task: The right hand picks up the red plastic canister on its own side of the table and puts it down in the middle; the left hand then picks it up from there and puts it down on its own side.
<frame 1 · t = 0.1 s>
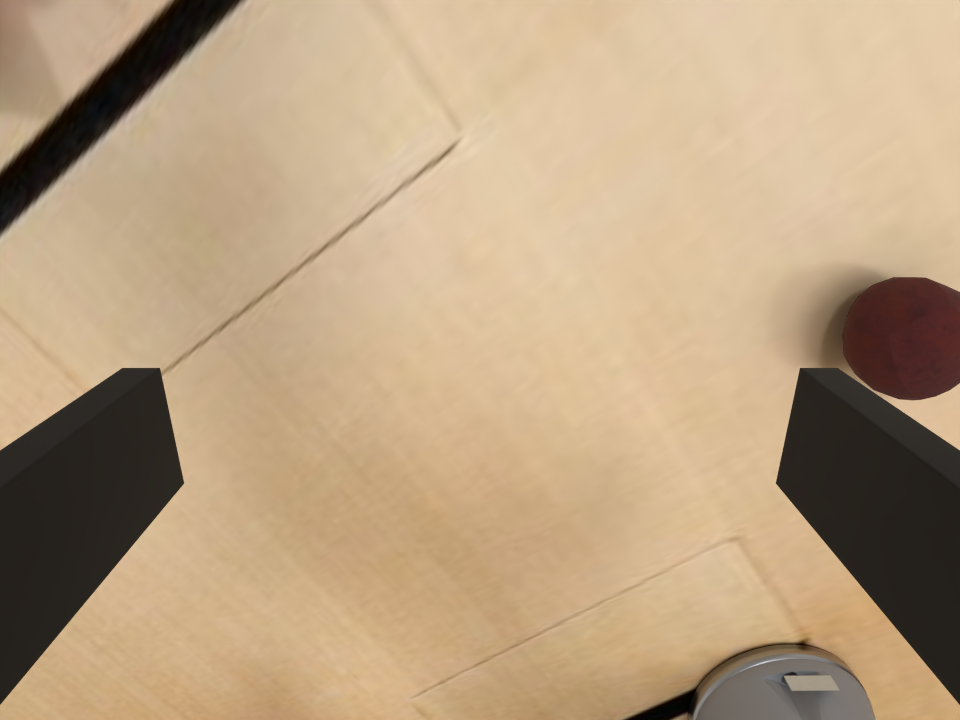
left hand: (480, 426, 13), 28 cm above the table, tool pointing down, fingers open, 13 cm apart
dark maroon round ball: (872, 319, 41), on the table
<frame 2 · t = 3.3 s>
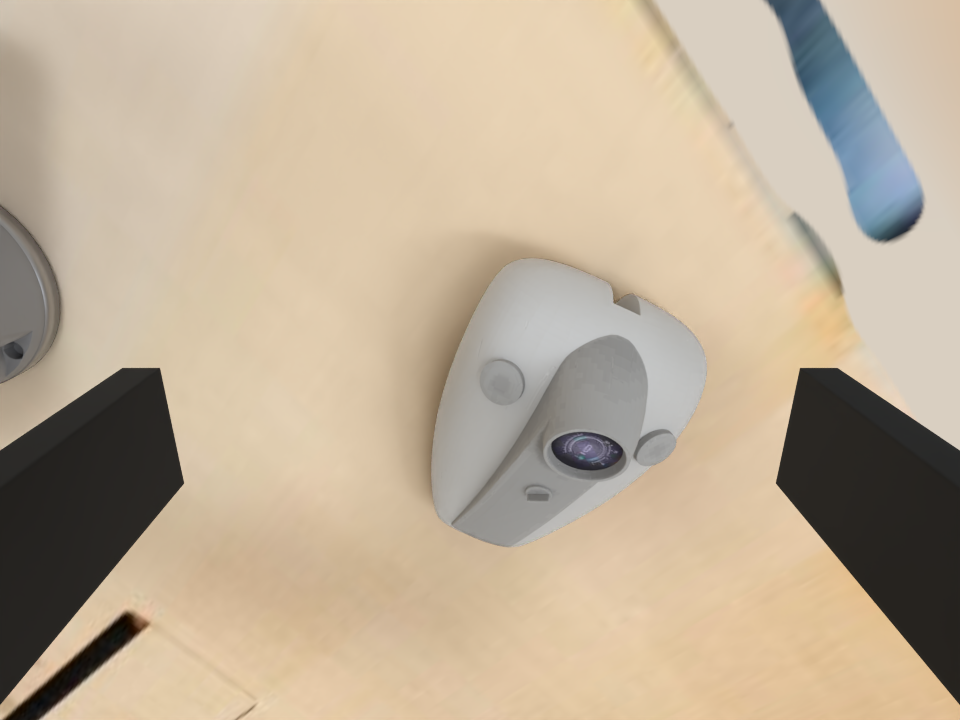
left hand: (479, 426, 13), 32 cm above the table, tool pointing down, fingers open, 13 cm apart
projector: (538, 405, 47), on the table
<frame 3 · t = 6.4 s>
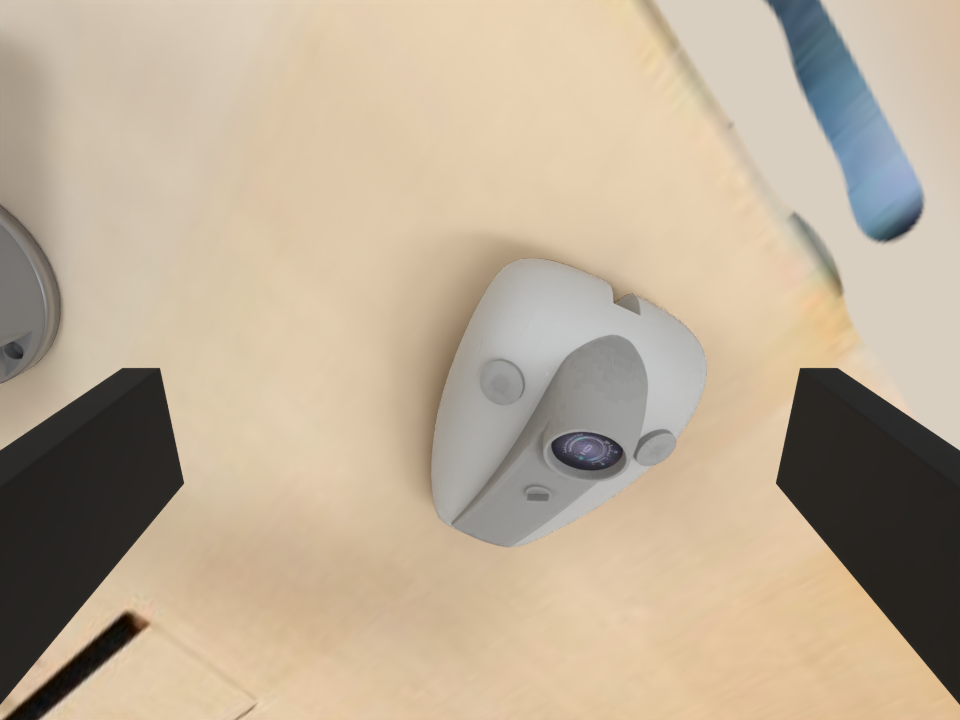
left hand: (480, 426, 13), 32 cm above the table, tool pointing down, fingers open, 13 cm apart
projector: (538, 405, 47), on the table
when the right hand's fingers open (3 cm above the table, at t = 9.7 s): canister drops 1 cm, on the table.
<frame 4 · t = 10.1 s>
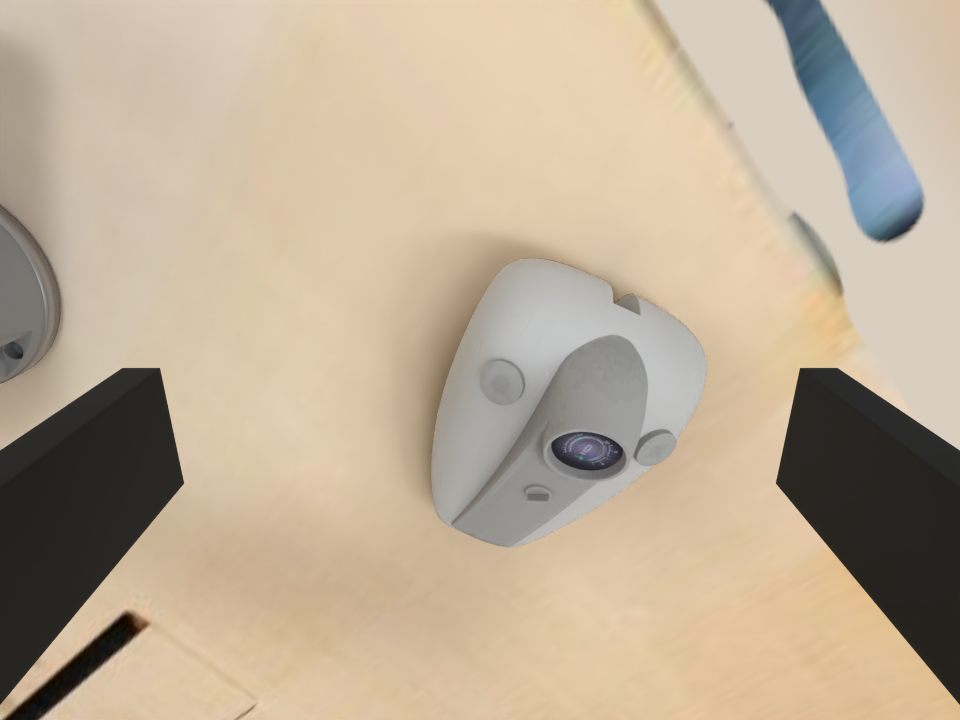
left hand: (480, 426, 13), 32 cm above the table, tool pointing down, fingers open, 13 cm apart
projector: (538, 405, 47), on the table
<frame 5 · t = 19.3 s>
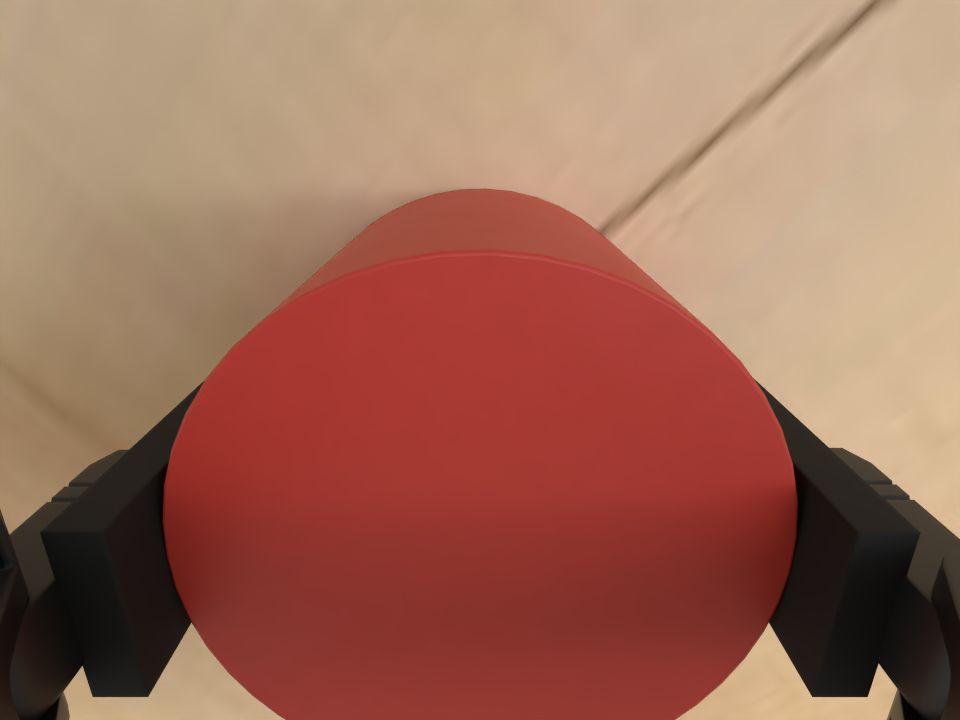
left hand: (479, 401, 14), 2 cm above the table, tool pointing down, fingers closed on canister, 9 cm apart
canister: (480, 368, 16), on the table, touching left hand
when the left hand's fingers open (3 cm above the table, at t = 25.7 s): canister drops 1 cm, on the table.
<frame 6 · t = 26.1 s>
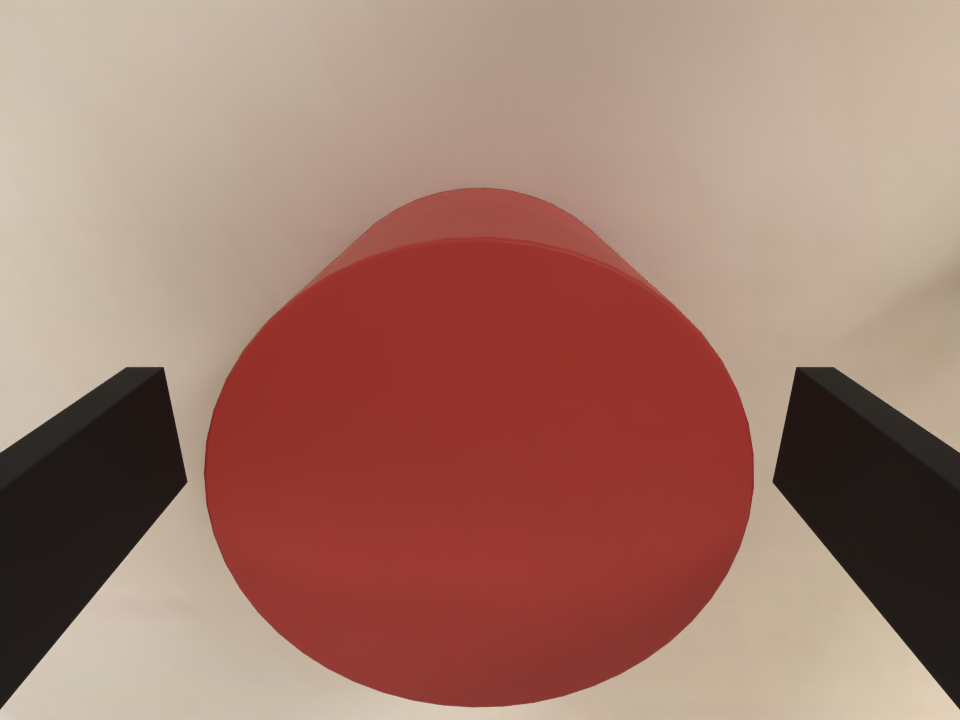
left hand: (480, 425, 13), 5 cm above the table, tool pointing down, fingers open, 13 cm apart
canister: (479, 353, 17), on the table
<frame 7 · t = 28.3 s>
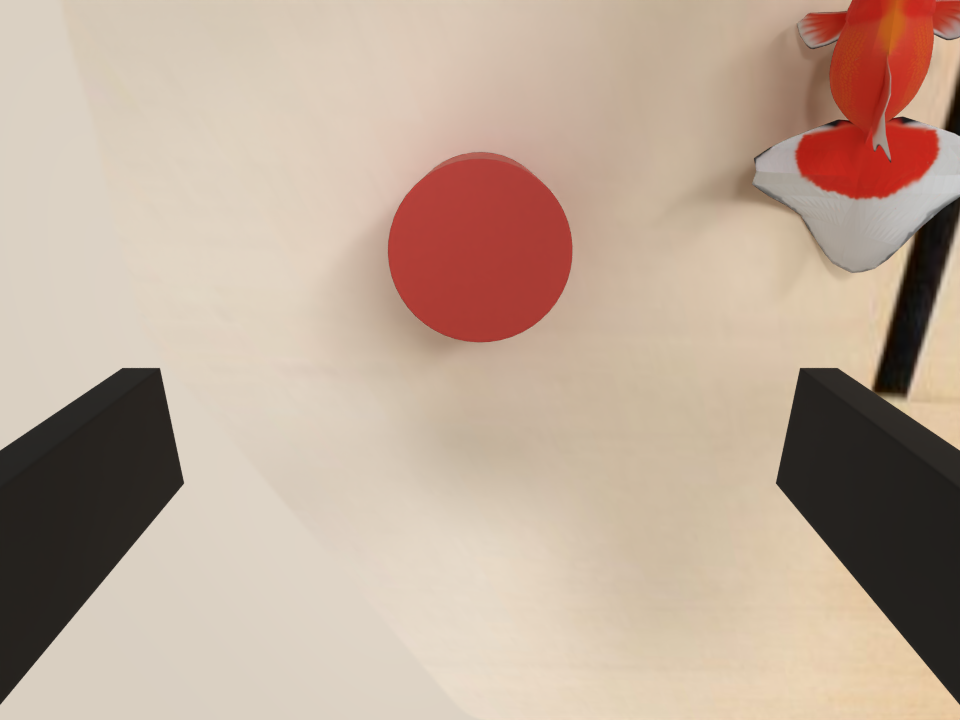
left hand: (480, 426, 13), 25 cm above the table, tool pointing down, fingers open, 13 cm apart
canister: (480, 231, 36), on the table
fish: (830, 128, 34), on the table
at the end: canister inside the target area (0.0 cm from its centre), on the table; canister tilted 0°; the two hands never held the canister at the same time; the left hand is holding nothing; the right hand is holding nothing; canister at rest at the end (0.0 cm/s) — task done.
